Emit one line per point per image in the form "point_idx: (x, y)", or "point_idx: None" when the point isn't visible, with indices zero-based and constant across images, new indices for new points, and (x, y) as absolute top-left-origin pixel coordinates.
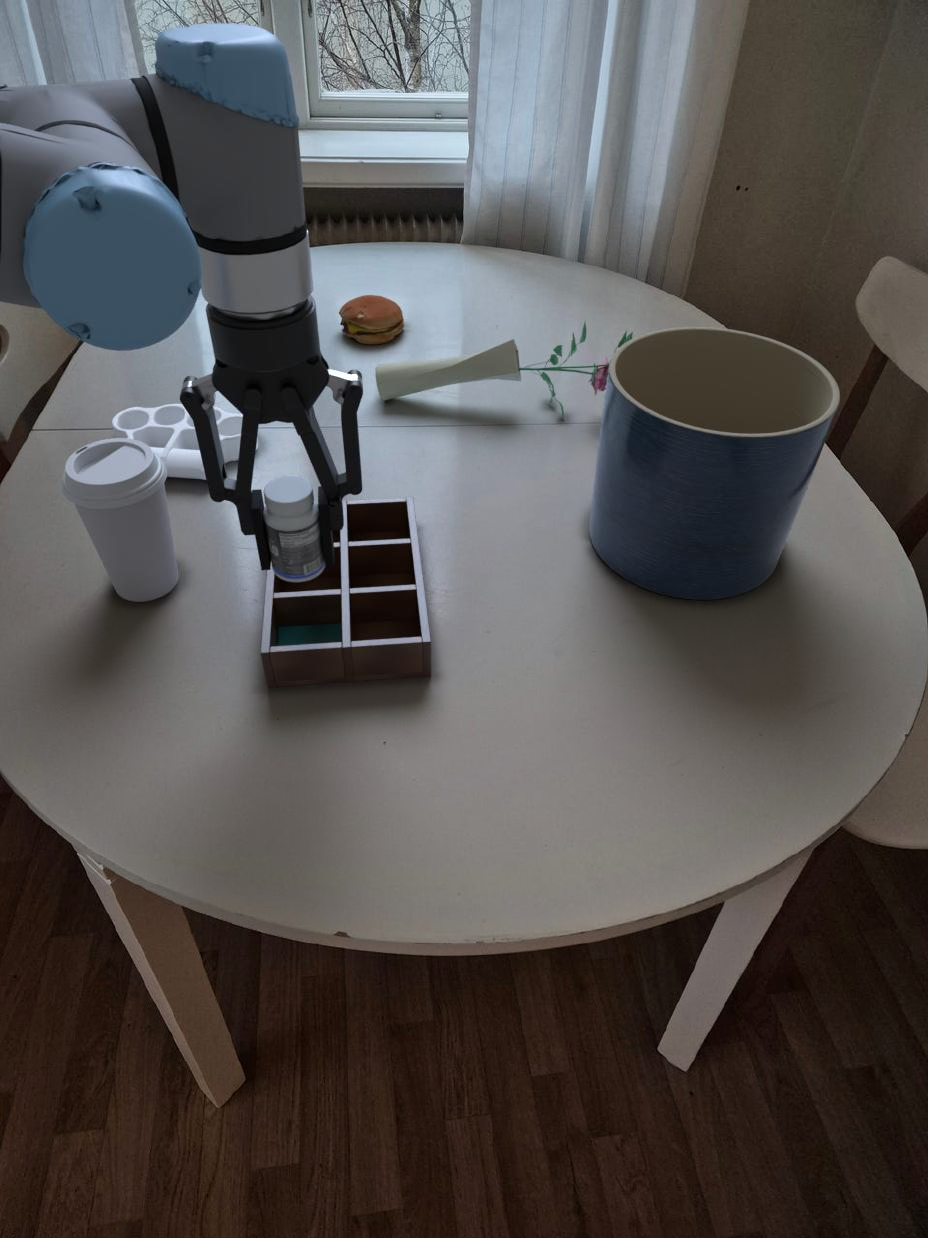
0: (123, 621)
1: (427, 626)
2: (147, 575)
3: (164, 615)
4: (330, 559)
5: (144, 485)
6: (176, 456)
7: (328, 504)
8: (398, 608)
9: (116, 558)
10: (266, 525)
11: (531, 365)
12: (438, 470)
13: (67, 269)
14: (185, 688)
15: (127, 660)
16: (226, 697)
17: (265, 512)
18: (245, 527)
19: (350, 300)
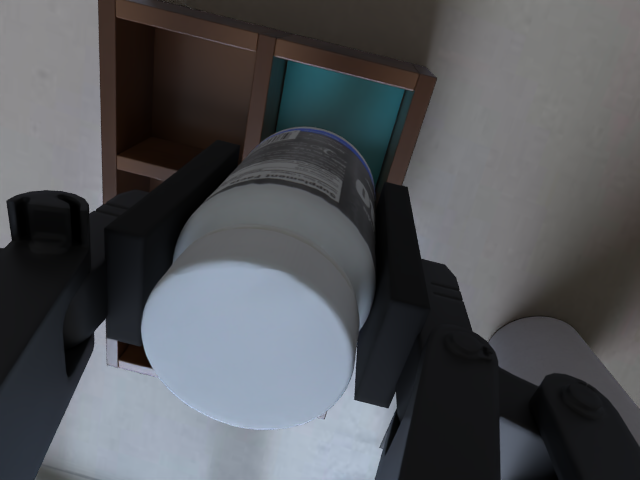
0: (595, 290)
1: (102, 43)
2: (554, 347)
3: (532, 281)
4: (217, 147)
5: None
6: None
7: (81, 209)
8: (169, 151)
9: (615, 386)
10: (373, 254)
11: None
12: (95, 411)
13: None
14: (558, 113)
15: (622, 208)
16: (500, 67)
17: (364, 299)
18: (442, 279)
19: None
